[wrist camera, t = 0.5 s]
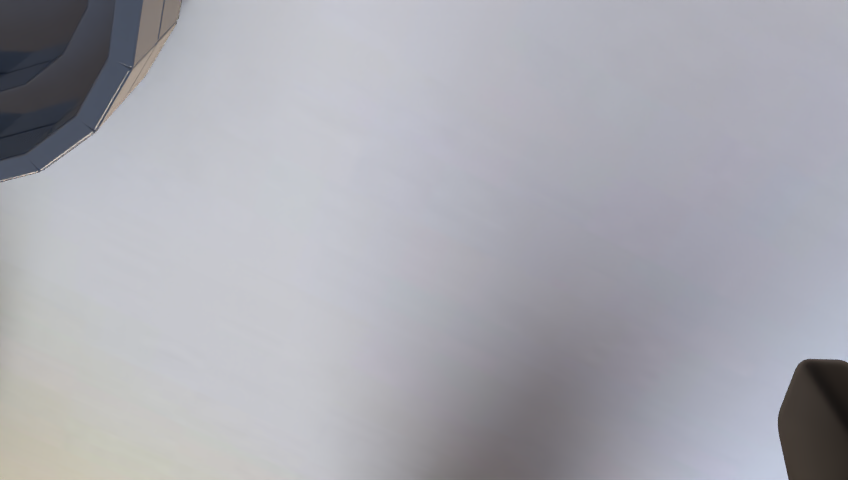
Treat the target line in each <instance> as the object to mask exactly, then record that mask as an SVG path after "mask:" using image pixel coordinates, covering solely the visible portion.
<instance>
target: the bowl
mask: <svg viewBox="0 0 848 480" xmlns="http://www.w3.org/2000/svg"><path fill="white" fill-rule="evenodd" d="M181 1H182V0H0V182H3V181H7V180H11V179H15V178H19V177H23V176H27V175H30V174H34V173H38V172H40V171H42V170H45V169H46V168H48V167H49V166H50V165H52V164H53V163H54V162H56V161H57V160H59V159H60V158H61V157H63V156H64V155H65V154H67V153H68V152H69V151H71V150H72V149H74V148H75V147H76V146H78V145H79V144H80V143H82V142H83V141H85V140H86V139H87V138H89V137H90V136H91V135H93V134H94V133H95V132H96V131H97V130H98V129H99V128H100V127H101V126H102V125H103V124H104V122H105V121H106V120H107V119H108V118H109V117H110V116H111V115H112V113H113V112H114V111H115V110H116V109H117V108H118V107H119V106H120V104H121V103H122V102H123V101H124V100H125V99H126V98H127V96H128V95H129V94H130V93H131V92H132V91H133V90H134V89H135V87H136V86H137V85H138V84H139V83H140V82H141V81H142V80H143V78H144V77H145V76H146V74H147V73H148V71H149V69H150V68H151V66H152V64H153V63H154V61H155V59H156V57H157V56H158V54H159V52H160V51H161V49H162V47H163V46H164V44H165V42H166V41H167V39H168V37H169V36H170V34H171V32H172V31H173V29H174V27H175V25H176V24H177V20H178V18H179V13H180V7H181Z"/></svg>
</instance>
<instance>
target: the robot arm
mask: <svg viewBox="0 0 848 480" xmlns="http://www.w3.org/2000/svg"><path fill="white" fill-rule="evenodd" d="M778 432H779V437H780V442H781V446H782V451H783V456H784V460H785V465H786V469H787V474H788V479H789V480H848V363H847V362H845V361H842V360H829V359H807V360H803V361H802V362H800V363H799V364H798V366H797V368H796V369H795V372H794V374H793V377H792V380H791V382H790V385H789V387H788V390H787V392H786V395H785V398H784V400H783V403H782V405H781V408H780V411H779V416H778Z"/></svg>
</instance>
